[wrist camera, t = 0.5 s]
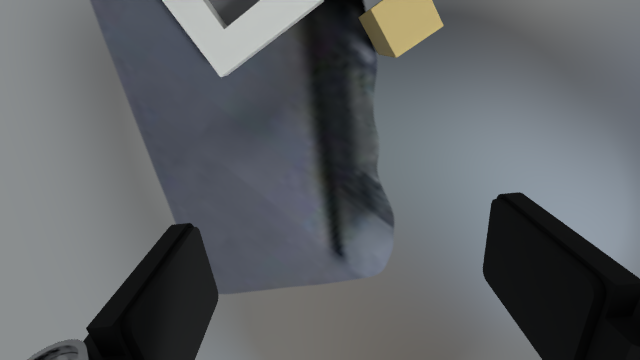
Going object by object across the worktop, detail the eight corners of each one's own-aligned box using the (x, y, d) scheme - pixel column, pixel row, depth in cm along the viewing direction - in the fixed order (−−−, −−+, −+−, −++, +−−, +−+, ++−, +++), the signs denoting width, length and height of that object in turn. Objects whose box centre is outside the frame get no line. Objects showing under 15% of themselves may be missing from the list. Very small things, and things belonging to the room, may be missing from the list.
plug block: (394, -9, 29) (419, -27, 22) (413, 30, 31) (443, 25, 23) (358, 17, 30) (370, 9, 23) (378, 54, 31) (396, 57, 24)
